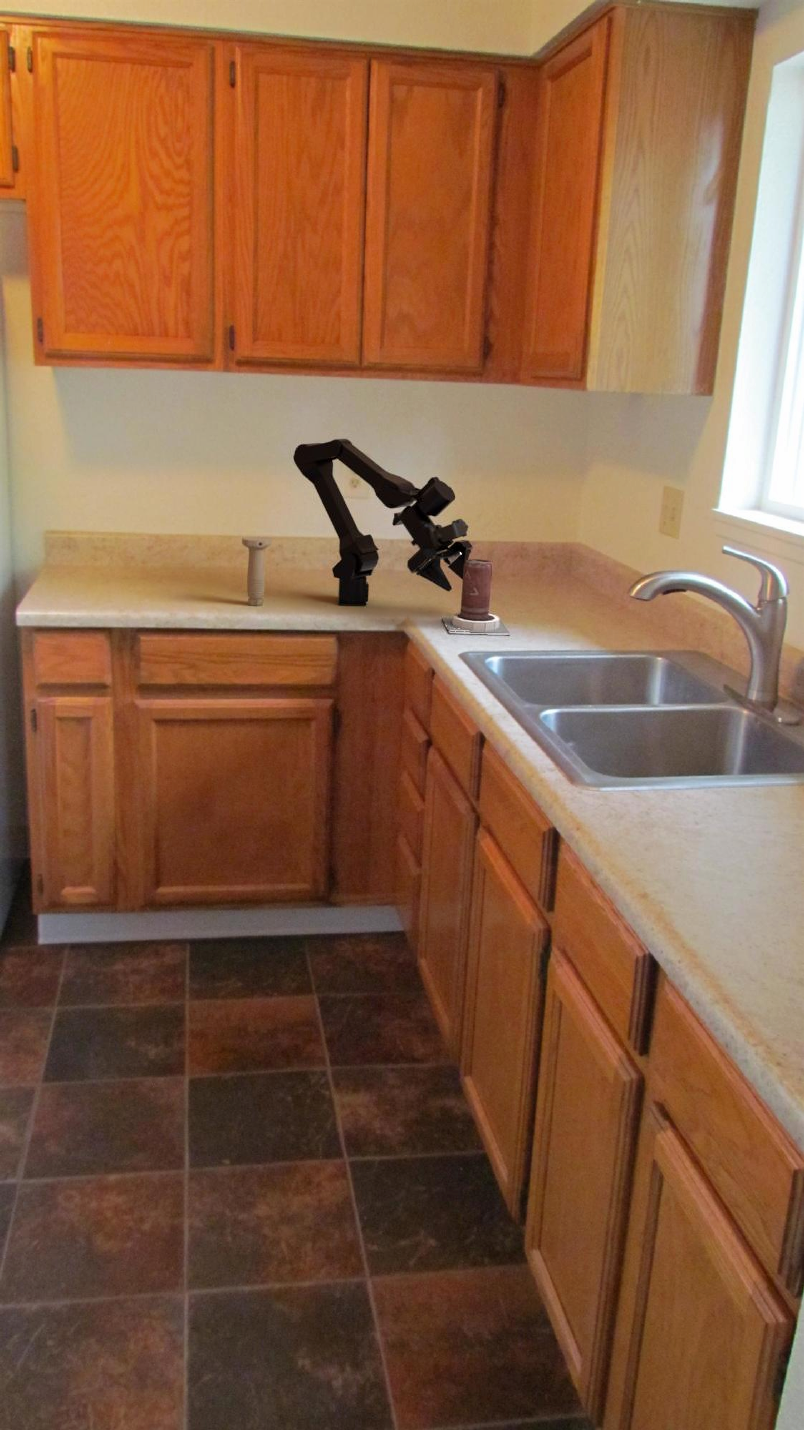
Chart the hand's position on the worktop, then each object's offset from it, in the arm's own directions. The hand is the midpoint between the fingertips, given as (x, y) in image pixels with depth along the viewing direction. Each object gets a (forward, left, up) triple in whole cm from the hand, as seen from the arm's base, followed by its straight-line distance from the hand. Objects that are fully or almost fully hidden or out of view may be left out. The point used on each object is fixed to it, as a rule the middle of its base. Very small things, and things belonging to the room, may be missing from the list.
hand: (461, 587), depth 262 cm
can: (+3, -2, -8) cm, 9 cm away
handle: (-45, +13, -8) cm, 47 cm away
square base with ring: (+3, -3, -8) cm, 9 cm away
